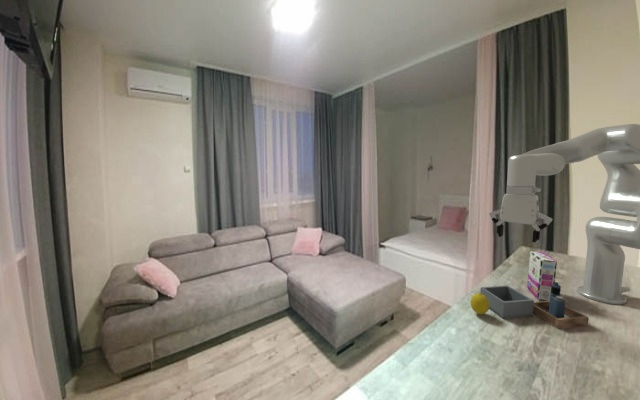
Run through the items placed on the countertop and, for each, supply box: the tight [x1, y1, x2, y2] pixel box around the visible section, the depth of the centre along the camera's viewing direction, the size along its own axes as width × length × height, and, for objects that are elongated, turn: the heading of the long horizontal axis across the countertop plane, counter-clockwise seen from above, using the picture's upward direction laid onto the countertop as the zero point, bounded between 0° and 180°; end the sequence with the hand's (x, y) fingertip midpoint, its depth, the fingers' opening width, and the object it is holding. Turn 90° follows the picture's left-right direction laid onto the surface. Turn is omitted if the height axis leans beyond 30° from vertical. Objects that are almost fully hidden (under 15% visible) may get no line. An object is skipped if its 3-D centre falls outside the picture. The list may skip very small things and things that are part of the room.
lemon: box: [470, 293, 490, 316], centre depth 86 cm, size 6×6×8 cm
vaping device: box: [548, 281, 566, 318], centre depth 83 cm, size 3×5×12 cm, turn 161°
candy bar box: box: [526, 250, 558, 301], centre depth 97 cm, size 11×5×16 cm, turn 156°
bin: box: [479, 284, 535, 320], centre depth 89 cm, size 11×11×6 cm
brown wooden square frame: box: [533, 300, 590, 330], centre depth 83 cm, size 11×11×3 cm
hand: (516, 238), depth 86 cm, fingers open, 9 cm apart
